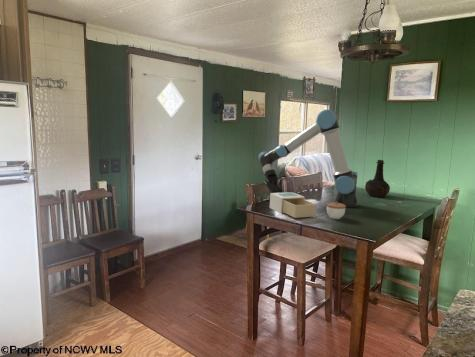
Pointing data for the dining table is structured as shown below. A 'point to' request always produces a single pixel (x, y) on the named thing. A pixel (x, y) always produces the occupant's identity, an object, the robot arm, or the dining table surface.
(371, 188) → the glass bottle
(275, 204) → the cream box
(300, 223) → the dining table surface
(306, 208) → the tray
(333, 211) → the lidded jar
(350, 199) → the robot arm
